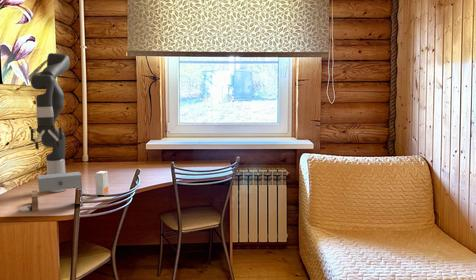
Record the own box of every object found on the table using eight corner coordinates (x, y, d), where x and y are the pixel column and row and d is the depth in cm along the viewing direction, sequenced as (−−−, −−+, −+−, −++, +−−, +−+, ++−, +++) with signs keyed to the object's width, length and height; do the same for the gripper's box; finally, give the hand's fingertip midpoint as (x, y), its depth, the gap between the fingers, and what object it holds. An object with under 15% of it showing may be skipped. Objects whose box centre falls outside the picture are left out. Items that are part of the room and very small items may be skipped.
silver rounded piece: (19, 210, 196) (18, 206, 196) (30, 208, 200) (30, 204, 199) (21, 213, 193) (21, 208, 192) (33, 211, 196) (33, 206, 196)
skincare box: (103, 196, 221) (102, 173, 220) (95, 195, 222) (94, 173, 220) (109, 193, 227) (107, 171, 226) (101, 192, 228) (100, 170, 226)
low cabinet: (40, 206, 203) (37, 175, 201) (81, 201, 211) (79, 171, 209) (40, 211, 194) (38, 179, 192) (83, 206, 202) (81, 175, 200)
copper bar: (32, 202, 211) (31, 190, 210) (38, 202, 212) (37, 190, 211) (32, 212, 194) (31, 199, 194) (38, 211, 195) (37, 198, 195)
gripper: (60, 115, 214) (62, 147, 216) (29, 116, 208) (31, 149, 210) (61, 115, 208) (63, 148, 210) (28, 117, 202) (31, 151, 204)
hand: (47, 149), depth 210 cm, fingers open, 8 cm apart
